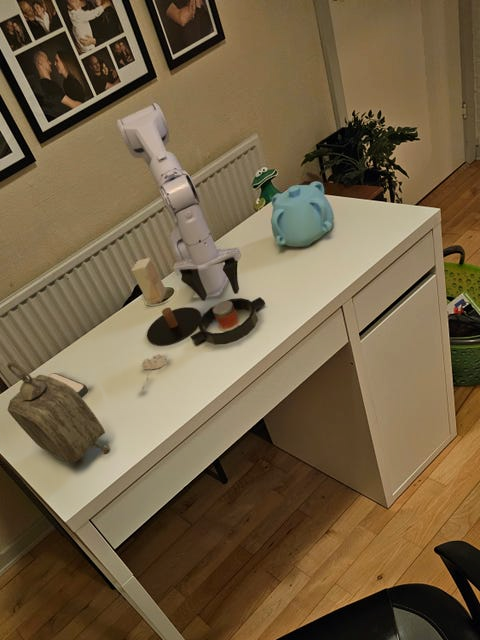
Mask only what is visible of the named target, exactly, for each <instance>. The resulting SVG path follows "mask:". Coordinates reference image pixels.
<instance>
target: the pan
mask: <svg viewBox="0 0 480 640" xmlns="http://www.w3.org/2000/svg"><path fill="white" fill-rule="evenodd" d="M225 301H231V302H232V304H233V306H234V308H235V311H246V312H247V311H248V312H250V313H249V316H248V317H247V318H246V319H245V320H244V321H243V322H242V323H240V325H239V326H237V327H236V328H234V329H232V330H229V331H226V332H223V331H222V332H210V331H207V330H208V328H209V327H210V325H211V323H213V322H214V321H216V318H215V316H214V313H213V308H214V306H215V305H213V306H212V307H210V308H209V309H208V310H206V312H204V313H203V314H202V315H201V316H202V317H201V319H200V321H199V327H198V329H199V331H198V332H195V333H193V334H191V335H190V339H191V341H192V342H193V344H195V345H196V344H198V343H200V342H202V341H206V343H208V344H212V345H215V346H217V345H218V346H219V345H228V344H231V343H234V342H238V341H239V340H241V339H243V338H244V337H246V336H248V335H249V334H250V333H251V332H252V331H253V330H254V329H255V328H256V326H257V324H258V322H259V315H258V311H257V310H258V309H260V308H261V307H263V306H265V305H266V302H265V300H264V299H263V298H261V297H260V296H259V297H257V298H256V299H254V300H252V301H251V300H250V299H247V298H242V297H237V298H229V299H227V300H225Z"/></svg>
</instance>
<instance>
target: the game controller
mask: <svg viewBox="0 0 480 640" xmlns="http://www.w3.org/2000/svg"><path fill="white" fill-rule="evenodd" d="M167 362H168V361H167V359H166V356H161V354H159V353H158V354H156V355H153V356H152V358H151V359H150V358H145V359H144V360H143V361H142V363H141V365H142V368H143V370H150V371H149V372H147V375H146V377H148V376H149V374H150V372H152V371H153V370H156V369H161V368H163V367H164V366H166V364H167ZM148 379H149V378H146V381H148ZM144 387H145V385H143V386H142V387H141V388H142V389H141V391H143V389H144Z"/></svg>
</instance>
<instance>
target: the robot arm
mask: <svg viewBox="0 0 480 640" xmlns="http://www.w3.org/2000/svg"><path fill="white" fill-rule="evenodd" d="M116 126H117V128H118V131H119V133H120V135H121V137H122V140H123V142H124V144H125V146H126V148H127V150H128V152H129V154H130V155H131V156H132V158H133V159H142V160H143V162H144V163H146V165H147V166H148V168H149V170H150V172H151V173H150V174H151V175H152V177H153V179H154V182H155V184H156V186H157V188H158V191H159V194H160V197H161V200H162V202H163V203H164V206H165V208H166V210H167V212H168V213H169V216H170V219H171V220H172V222H173V224H174V226H173V228H172V230H171V232H170V234H169V235H168V236H169V239H168V240H169V242H170V244H171V248H172V250H173V253H174V255H175V257H176V259H177V262H175V263H174V265H173V270H174V272H175V274H176V276H180V275H181V277H180V279H181V282H182V283H184V285H187V286H188V287H189V288H190V289H191V290H193V291H194V292H195V293H194V294H193V296H192V298H193V299H197V298H200V300H201V301H202V302H205V301H206V300H207V297H208V298H209V297H215V296H216V297H217V296H219V295H220V294H221V293H222V291H223V289H224V287H225V285H226V284H227V282H229V284H230V287H231V289H232V292H233V294H234V295H237V294H238V293H239V291H240V286H239V281H238V279H239V278H238V264H239V263H238V262H239V261H240V260H241V258H242V253H241V250H240V248H239V246H237V247H232V248H217V246H216V244H215V242H214V239H213V236H212V233H211V230H210V229H209V226H208V223H207V221H206V218H205V215H204V213H203V211H202V208H201V205H200V203H201V202H200V201H201V200H200V195H199V192H198V190H197V187H196V185H195V183H194V181H193V179H192V177H191V176H190V174H189V173H188V172H187V171H186V170H184V169H183V167H182V166H181V164H180V162H179V159H178V158H177V157H176V155H175V154H174V153H172V152H171V151H167V149H166V146H167V145H168V144H169V143H170V132H169V126H168V123H167V120H166V118H165V115H164V113H163V111H162V108H161V107H160V105H159V104H157V103H156V102H152V104H151V105H149V106H146V107H144V108H142V109H140V110H138V111H136V112H134V113H131V114H129V115H127V116H125V117H123V118H121V119H120V118H119V119H117V122H116Z"/></svg>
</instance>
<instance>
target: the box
mask: <svg viewBox="0 0 480 640" xmlns="http://www.w3.org/2000/svg"><path fill="white" fill-rule="evenodd" d="M130 271H131V273H132V275H133V277H134V279H135V281H136V283H137V285H138V287H139V289H140V291H141V292H142V294H143V297H144V298H145V301H146V302H147V304H149V305H150V304H156V303H160V302H162V301H163V299H164V297H165V295H166V293H167V289H166V287H165V285H164V283H163V281H162V279H161V277H160V275H159V273H158V271H157V269H156V266H155V264H154V263H153V260H152V258H151V257H146V258H142V259H138V260H136V262H135V263H134V264H133V266H132V268H131V270H130Z"/></svg>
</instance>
